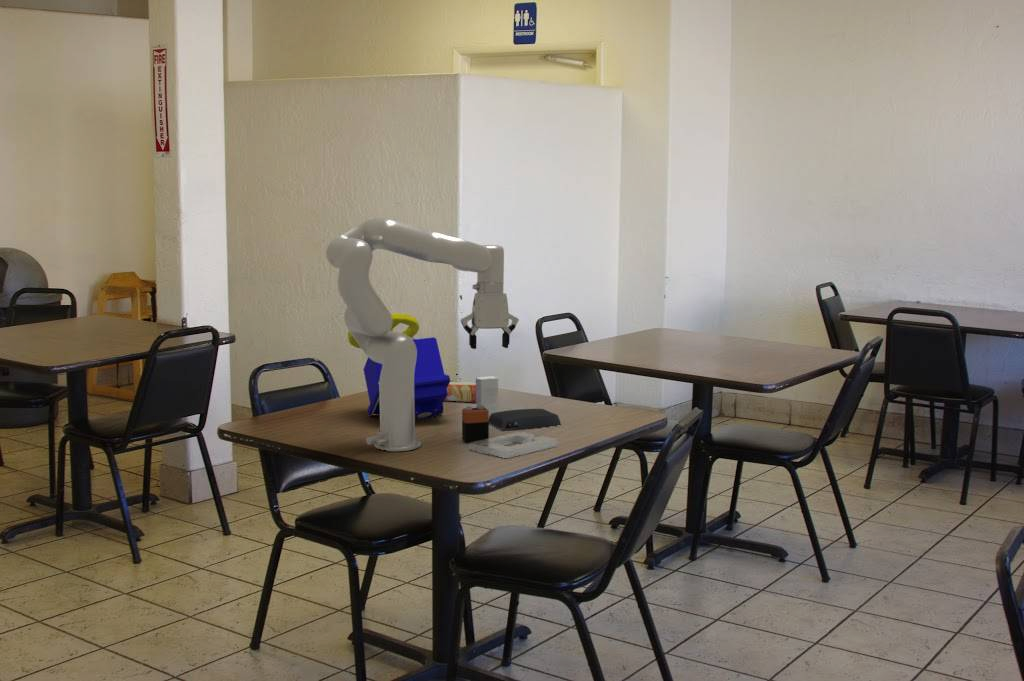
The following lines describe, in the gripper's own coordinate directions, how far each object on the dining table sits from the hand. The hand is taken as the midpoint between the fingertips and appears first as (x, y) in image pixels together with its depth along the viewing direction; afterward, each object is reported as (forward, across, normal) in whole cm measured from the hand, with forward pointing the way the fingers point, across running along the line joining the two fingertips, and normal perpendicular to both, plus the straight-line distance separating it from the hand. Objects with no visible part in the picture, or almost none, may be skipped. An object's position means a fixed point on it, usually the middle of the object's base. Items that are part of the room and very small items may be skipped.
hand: (489, 347), depth 319 cm
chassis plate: (+25, 0, -20) cm, 32 cm away
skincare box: (+25, +8, +25) cm, 36 cm away
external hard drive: (+25, +14, +8) cm, 30 cm away
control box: (+26, -19, +31) cm, 44 cm away
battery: (+26, -6, -7) cm, 27 cm away
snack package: (+25, +5, +52) cm, 58 cm away
